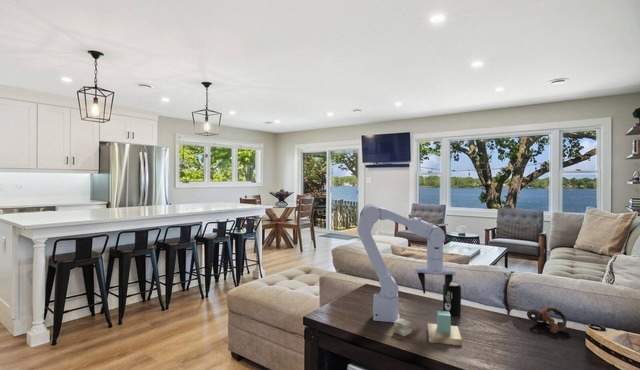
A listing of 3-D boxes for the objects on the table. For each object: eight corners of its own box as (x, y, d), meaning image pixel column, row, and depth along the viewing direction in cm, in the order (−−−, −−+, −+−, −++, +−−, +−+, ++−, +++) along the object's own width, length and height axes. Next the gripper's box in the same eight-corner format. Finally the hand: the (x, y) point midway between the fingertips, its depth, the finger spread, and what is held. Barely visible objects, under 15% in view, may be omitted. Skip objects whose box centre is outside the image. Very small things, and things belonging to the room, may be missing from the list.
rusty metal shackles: (553, 323, 128) (564, 308, 124) (561, 344, 120) (574, 329, 116) (519, 313, 130) (529, 298, 126) (525, 333, 122) (536, 318, 118)
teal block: (437, 332, 115) (437, 314, 115) (436, 327, 119) (437, 310, 118) (450, 333, 114) (450, 316, 114) (449, 328, 118) (449, 311, 117)
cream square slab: (429, 341, 112) (429, 335, 112) (427, 328, 122) (427, 323, 122) (461, 345, 110) (461, 339, 110) (457, 331, 120) (457, 326, 120)
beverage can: (462, 317, 132) (462, 286, 132) (444, 315, 133) (444, 285, 133) (459, 310, 139) (459, 281, 138) (441, 309, 140) (442, 280, 140)
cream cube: (394, 332, 119) (394, 321, 119) (401, 329, 122) (401, 318, 122) (404, 336, 116) (404, 325, 116) (410, 333, 119) (410, 321, 119)
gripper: (415, 259, 127) (415, 295, 128) (456, 261, 124) (456, 298, 124) (414, 254, 134) (414, 289, 135) (454, 257, 131) (454, 292, 131)
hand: (434, 293), depth 130 cm, fingers open, 7 cm apart
